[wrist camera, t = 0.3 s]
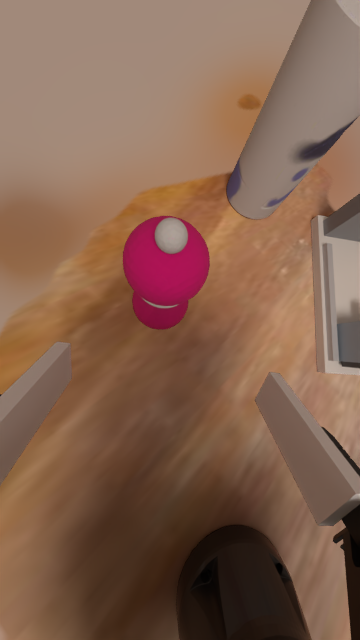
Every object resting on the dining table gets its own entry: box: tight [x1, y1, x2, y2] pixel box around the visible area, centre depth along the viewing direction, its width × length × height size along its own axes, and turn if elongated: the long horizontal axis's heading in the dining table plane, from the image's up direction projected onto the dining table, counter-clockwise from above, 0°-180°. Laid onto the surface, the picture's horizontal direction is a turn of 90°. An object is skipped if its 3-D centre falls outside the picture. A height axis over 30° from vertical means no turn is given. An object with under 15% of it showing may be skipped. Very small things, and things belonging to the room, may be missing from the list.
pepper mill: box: [123, 216, 210, 329], centre depth 19 cm, size 7×7×20 cm
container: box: [227, 0, 360, 219], centre depth 24 cm, size 10×10×20 cm
